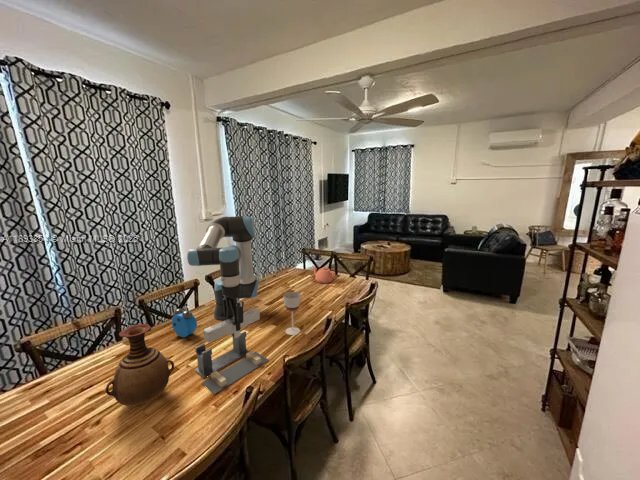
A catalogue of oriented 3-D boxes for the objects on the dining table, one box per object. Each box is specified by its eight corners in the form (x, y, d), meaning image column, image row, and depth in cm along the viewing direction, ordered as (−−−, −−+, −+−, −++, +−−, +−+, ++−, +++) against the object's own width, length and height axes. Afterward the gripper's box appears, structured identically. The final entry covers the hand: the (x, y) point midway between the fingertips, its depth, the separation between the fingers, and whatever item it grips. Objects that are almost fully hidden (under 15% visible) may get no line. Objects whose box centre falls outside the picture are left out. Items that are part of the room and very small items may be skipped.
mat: (201, 383, 115) (201, 382, 115) (255, 352, 136) (255, 351, 136) (214, 395, 109) (214, 394, 109) (268, 360, 130) (268, 359, 130)
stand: (194, 370, 123) (192, 348, 120) (240, 346, 141) (239, 326, 139) (203, 378, 118) (201, 355, 115) (249, 352, 136) (248, 331, 134)
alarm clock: (198, 334, 152) (195, 310, 149) (189, 340, 146) (186, 314, 143) (181, 329, 157) (179, 305, 154) (172, 335, 152) (169, 310, 149)
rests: (211, 378, 117) (210, 373, 117) (250, 356, 133) (250, 351, 132) (221, 387, 112) (220, 382, 112) (261, 362, 128) (260, 357, 127)
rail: (208, 342, 108) (207, 332, 107) (204, 339, 110) (203, 329, 109) (259, 319, 126) (259, 310, 125) (255, 316, 129) (254, 307, 128)
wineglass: (298, 336, 151) (298, 298, 146) (282, 334, 153) (281, 297, 148) (302, 327, 159) (302, 292, 155) (287, 326, 161) (286, 291, 156)
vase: (105, 427, 94) (90, 350, 88) (119, 391, 111) (107, 323, 104) (174, 407, 103) (165, 335, 97) (178, 376, 119) (170, 313, 113)
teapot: (308, 281, 234) (307, 267, 231) (316, 276, 246) (316, 263, 244) (330, 286, 223) (331, 271, 220) (338, 280, 236) (339, 266, 233)
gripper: (212, 282, 116) (216, 332, 121) (234, 291, 106) (238, 346, 111) (227, 277, 122) (231, 325, 127) (250, 286, 112) (253, 338, 116)
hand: (234, 335), depth 119 cm, fingers closed on rail, 3 cm apart
